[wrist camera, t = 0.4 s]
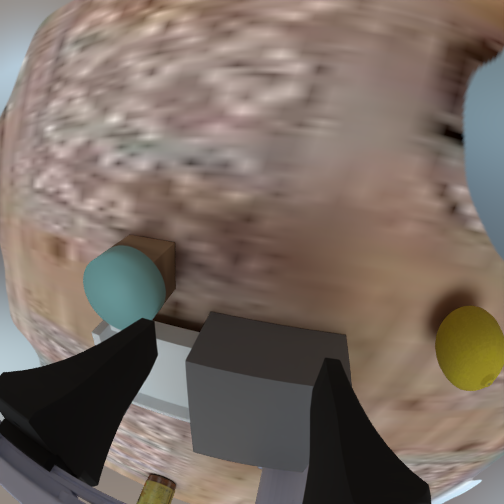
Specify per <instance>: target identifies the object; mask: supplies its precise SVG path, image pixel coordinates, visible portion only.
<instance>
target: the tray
mask: <svg viewBox="0 0 504 504" xmlns="http://www.w3.org/2000/svg"><path fill="white" fill-rule="evenodd" d="M152 321H153V320H152ZM120 331H121V330H119V329H117V328H115V327H113V326H111V325H110V324H108V323H107V322H106V321H104V320H103V321H102V322H101V323H100V324H99V325H98V326H97V327H96V328H95V329H94V330H93V331H92V336H93V339H94V343H95V345H97V344H99V343H101V342H103V341H105V340H106V339H108V338H110V337H111V336H113V335H115V334H116V333H118V332H120ZM155 331H156V340H157V349H158V356H157V359H156V361H155V363H154V366H153V368H152V370H151V372H150V374H149V376H148V377H147V379H146V381H145V382H144V384H143V385H142V387H141V389H140V390H139V392H138V393H137V395H136V396H135V398H134V400H133V401H132V404H135V405H137V406H140V407H143V408H145V409H148V410H151V411H154V412H157V413H160V414H163V415H166V416H169V417H172V418H176V419H179V420H182V421H186V422H189V423H190V416H189V406H188V394H187V381H186V367H185V360H186V358H187V356H188V354H189V352H190V351H191V349H192V347H193V345H194V343H195V341H196V339H197V337H198V335H199V333H200V332H196V331H192V330H188V329H184V328H180V327H176V326H172V325H168V324H164V323H160V322H157V321H155ZM130 405H131V404H130ZM129 407H130V406H129ZM127 410H128V409H127ZM126 412H127V411H126Z"/></svg>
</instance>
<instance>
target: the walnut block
mask: <svg viewBox="0 0 504 504" xmlns="http://www.w3.org/2000/svg"><path fill="white" fill-rule="evenodd" d="M118 245H124V246H129V247H133V248H135V249H137V250H139V251H141V252H142V253H144V254H145V255H146V256H147V257H149V258H150V259H151V260H152V262H153V263H154V264H155V265H156V267H157V268H158V270H159V271H160V273H161V275H162V277H163V280H164V284H165V289H166V297H165V301H164V303H165V302H166V300H167V299H168V298H169V296H170V295H171V294H172V293H173V291H174V290H175V289H176V284H175V242H170V241H164V240H158V239H152V238H146V237H141V236H135V235H129V236H127V237H126V238H124V239H123V240H121V241H120V242H118V243H117V244H115V245H114V246H118ZM114 246H113V247H114Z"/></svg>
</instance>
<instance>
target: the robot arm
mask: <svg viewBox="0 0 504 504" xmlns="http://www.w3.org/2000/svg"><path fill="white" fill-rule="evenodd" d="M157 356H158V349H157V340H156V331H155V321H152V320H149V319H145V318H141V319H139V320H137V321H136V322H134V323H133V324H131V325H129V326H128V327H126V328H124V329H123V330H121V331H120V332H118V333H116V334H115V335H113V336H111V337H110V338H108V339H106V340H105V341H103V342H101V343H99V344H97V345H95V346H93V347H91V348H90V349H88V350H86V351H84V352H81V353H79V354H77V355H75V356H72V357H70V358H67V359H65V360H62V361H59V362H55V363H52V364H49V365H46V366H42V367H38V368H33V369H28V370H22V371H13V372H3V373H2V374H1V375H0V412H1V414H2V415H3V416H4V418H5V419H4V420H3V421H2V422H1V420H0V485H1V486H2V487H3V488H4V489H5V490H6V491H7V492H8V493H10V494H11V495H12V496H13V497H14V498H15V499H16V500H17V501H18V502H19V503H21V504H85V503H84V502H82V501H80V500H79V499H78V497H80V498H82V499H84V500H86V501H87V502H89V503H91V504H126V503H124V502H121V501H119V500H117V499H115V498H113V497H111V496H109V495H107V494H104V493H102V492H101V491H99V490H97V489H95V488H93V486H97V485H98V483H99V480H100V476H101V473H102V469H103V466H104V463H105V460H106V457H107V454H108V452H109V449H110V446H111V444H112V441H113V439H114V436H115V434H116V432H117V429H118V427H119V425H120V423H121V421H122V418H123V416H124V415H125V413H126V411H127V409H128V408H129V406H130V404H131V403H132V401H133V400H134V398H135V396H136V395H137V393H138V392H139V390H140V389H141V387H142V385H143V384H144V382H145V381H146V379H147V377H148V376H149V374H150V372H151V370H152V368H153V366H154V363H155V361H156V359H157ZM258 468H259V469H262V474H261V479H260V483H259V488H258V493H257V498H256V502H255V504H431V495H430V490H429V485H428V484H427V483H426V482H425V481H423V480H422V479H421V478H420V477H418V476H417V475H416V474H415V473H413V472H412V471H411V470H410V469H409V468H408V467H407V466H406V465H405V464H404V463H403V462H402V461H401V460H400V459H399V458H398V457H397V456H396V455H395V454H394V452H393V451H392V450H391V449H390V448H389V447H388V446H387V444H386V443H385V442H384V440H383V439H382V438H381V437H380V435H379V434H378V432H377V431H376V429H375V428H374V426H373V425H372V423H371V422H370V420H369V419H368V417H367V415H366V413H365V412H364V410H363V408H362V406H361V404H360V403H359V401H358V399H357V397H356V395H355V393H354V391H353V388H352V386H351V384H350V382H349V380H348V377H347V375H346V373H345V370H344V368H343V366H342V363H341V361H340V360H339V359H332V358H325V359H324V361H323V364H322V367H321V369H320V372H319V374H318V377H317V379H316V382H315V384H314V387H313V389H312V397H311V406H310V456H309V464H308V466H307V467H306V469H305V470H304V472H294V471H285V470H278V469H270V468H264V467H258ZM77 496H78V497H77Z"/></svg>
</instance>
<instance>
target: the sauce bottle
mask: <svg viewBox="0 0 504 504" xmlns="http://www.w3.org/2000/svg"><path fill="white" fill-rule="evenodd" d="M175 489H176V485H175V484H174V483H173V482H172V481H170V480H169V479H166V478H164V477H161V476H157V475H150V476H149V477H148V479H147V480H146V482H145V485H144V487H143V490H142V492H141V494H140V497H139V499H138V502H137V504H171V501H172V498H173V496H174V493H175Z"/></svg>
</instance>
